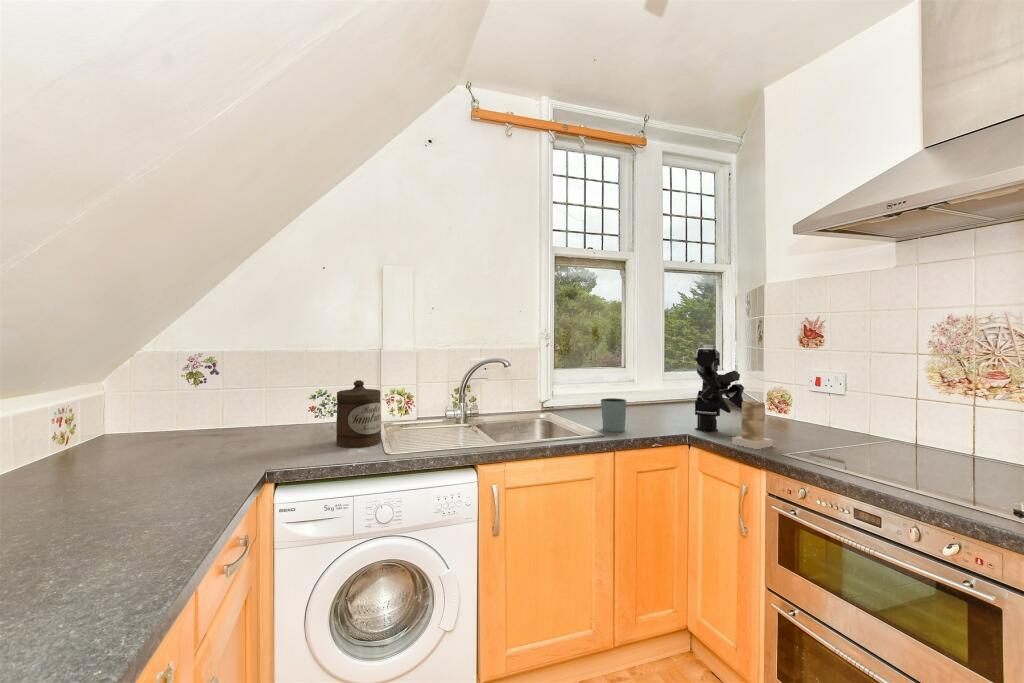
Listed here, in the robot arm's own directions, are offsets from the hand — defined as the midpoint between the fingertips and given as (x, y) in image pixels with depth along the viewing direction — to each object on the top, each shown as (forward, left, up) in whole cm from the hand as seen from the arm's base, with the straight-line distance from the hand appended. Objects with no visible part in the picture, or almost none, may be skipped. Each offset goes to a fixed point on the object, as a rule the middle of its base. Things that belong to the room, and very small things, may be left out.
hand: (737, 411), depth 170 cm
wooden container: (-66, -117, -11) cm, 135 cm away
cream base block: (+6, 0, -12) cm, 13 cm away
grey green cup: (-38, -24, -11) cm, 46 cm away
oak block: (+6, 0, -8) cm, 10 cm away
